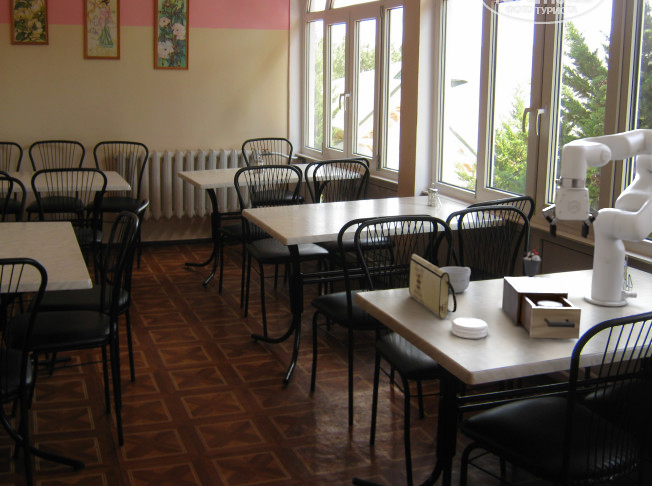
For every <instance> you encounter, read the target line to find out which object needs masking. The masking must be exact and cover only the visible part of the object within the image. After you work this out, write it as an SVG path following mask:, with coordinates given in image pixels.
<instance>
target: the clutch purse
mask: <svg viewBox="0 0 652 486" xmlns="http://www.w3.org/2000/svg"><path fill="white" fill-rule="evenodd" d="M409 259H410V260H409V273H408V274H409V275H408V277H409V278H408V293H409V295H410V296H411V297H412V298H414V299H415V300H416V301H418V302H419V303H421V304H422V305H423V306H424V307H426V308H427V309H428V310H430V311H432V312H433V313H434V314H435V315H437V316H438V317H439V318H440V319H442V320H444V319H445V318H446V317H447V315H448V313H456V311H457V309H458V304H457V302H458V301H457V297H456V293H455V292H454V289H453V286H452V285H451V283H450V278H449V274H448V273H447V272H445V271H443V270H441V269H440V268H441V267H438V266H437V265H434V264H432V263H431V262H429V261H428V260H426V259H424V258H422V257H421V256H419V255H418V254H416V253H412V254H411V255H410V258H409ZM450 290H451V293H450V292H449V291H450ZM450 294H451V296H452V303H453V308H452V311H450V310H449V296H450Z"/></svg>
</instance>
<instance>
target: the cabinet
mask: <svg viewBox="0 0 652 486" xmlns="http://www.w3.org/2000/svg"><path fill="white" fill-rule="evenodd" d="M521 295H562V296H563V297H564V298H566V299H567V300H568V298H569V293H568V292H567V291H566V290H565V289H564V288H563V287H561V286H560V285H559V284H557V283H556V282H555V281H554V280H553V279H552V278H550V277H533V278H529V277H520V276H519V277H517V276H515V277H513V276H504V277H503V285H502V299H501V300H502V301H501V309H502V311H503V312H504V313H505V314H506V316H507V317H508V318H509V319H510V320H511V322H512V323H513V324H514V325H515V327H525V326H524V325H523V324H522V323H521V322H520V321H519V316H520V301H521ZM568 301H569V300H568Z"/></svg>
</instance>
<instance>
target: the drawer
mask: <svg viewBox="0 0 652 486" xmlns="http://www.w3.org/2000/svg"><path fill="white" fill-rule="evenodd" d="M539 301H554V302H558V303H561V304H562V305H563V306H562V307H538V302H539ZM581 316H582V308H581V307H576V306H575V305H574V304H573V303H572V302H570V301H569V300H567V299H566V298H564V297H563V296H562V295H521V301H520V316H519V321H520V322H521V323H522V324H523V325H524V326H523V327H524V329H526V330H527V332H529V338H531V339H564V340H565V339H570V340H572V339H573V340H579V339H580V329H581Z"/></svg>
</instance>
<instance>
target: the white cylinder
mask: <svg viewBox="0 0 652 486" xmlns="http://www.w3.org/2000/svg"><path fill="white" fill-rule="evenodd" d="M562 306H563V305H562V304H561V303H558V302H554V301H539V302H538V307H562Z"/></svg>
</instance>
